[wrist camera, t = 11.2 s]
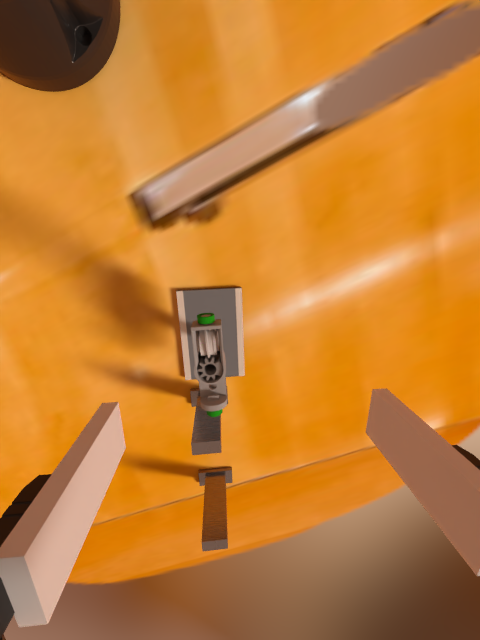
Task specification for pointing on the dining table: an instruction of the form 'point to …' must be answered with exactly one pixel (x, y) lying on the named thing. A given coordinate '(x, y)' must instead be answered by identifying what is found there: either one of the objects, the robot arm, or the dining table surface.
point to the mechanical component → (209, 363)
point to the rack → (211, 477)
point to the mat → (225, 308)
